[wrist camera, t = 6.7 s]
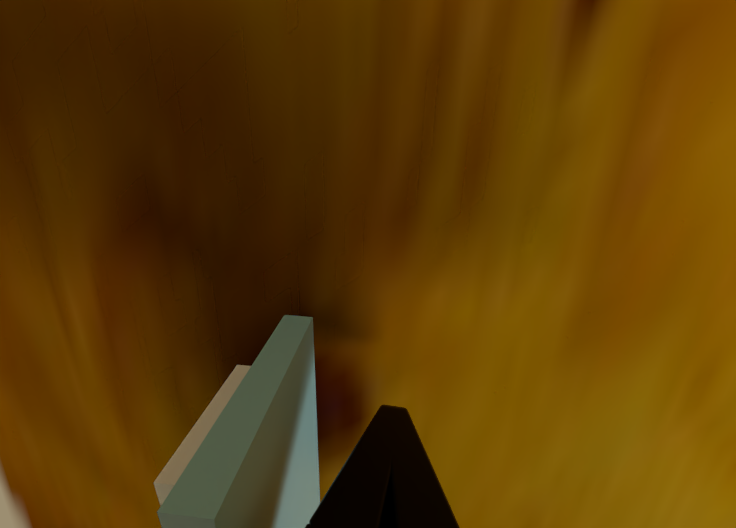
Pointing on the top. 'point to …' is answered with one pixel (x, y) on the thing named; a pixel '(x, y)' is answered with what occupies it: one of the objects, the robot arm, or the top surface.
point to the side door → (252, 444)
